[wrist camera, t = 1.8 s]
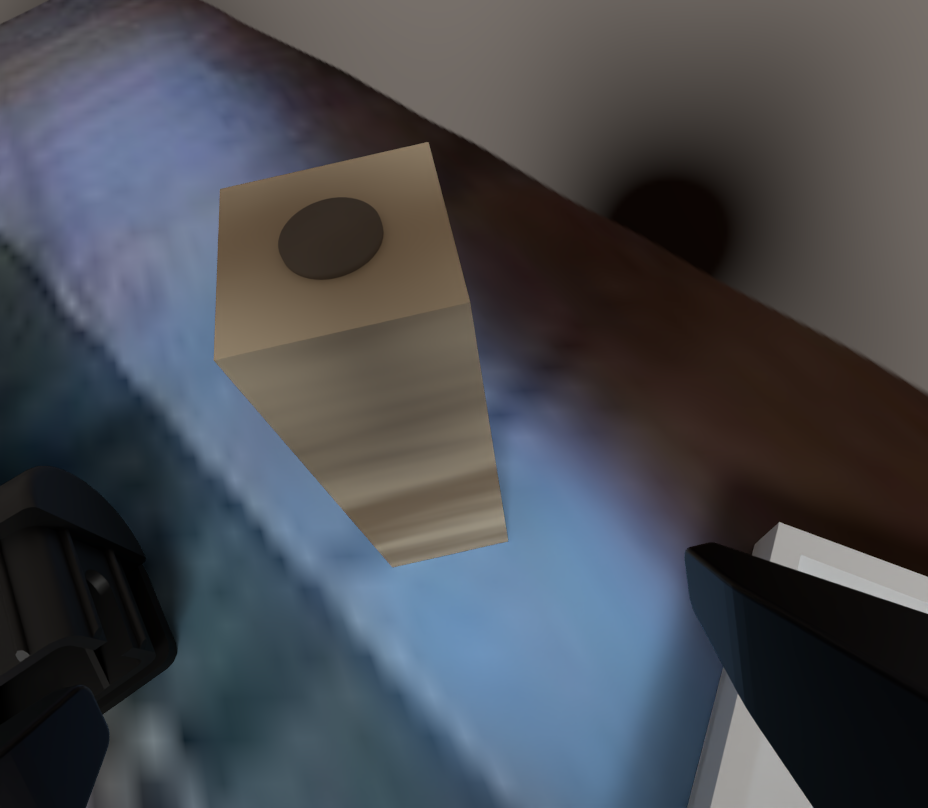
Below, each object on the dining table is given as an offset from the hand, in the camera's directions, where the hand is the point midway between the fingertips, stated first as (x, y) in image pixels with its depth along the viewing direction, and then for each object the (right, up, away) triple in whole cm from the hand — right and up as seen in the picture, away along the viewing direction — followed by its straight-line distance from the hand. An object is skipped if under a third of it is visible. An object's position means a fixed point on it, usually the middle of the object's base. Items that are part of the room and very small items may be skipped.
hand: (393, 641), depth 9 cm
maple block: (0, 0, +15) cm, 15 cm away
